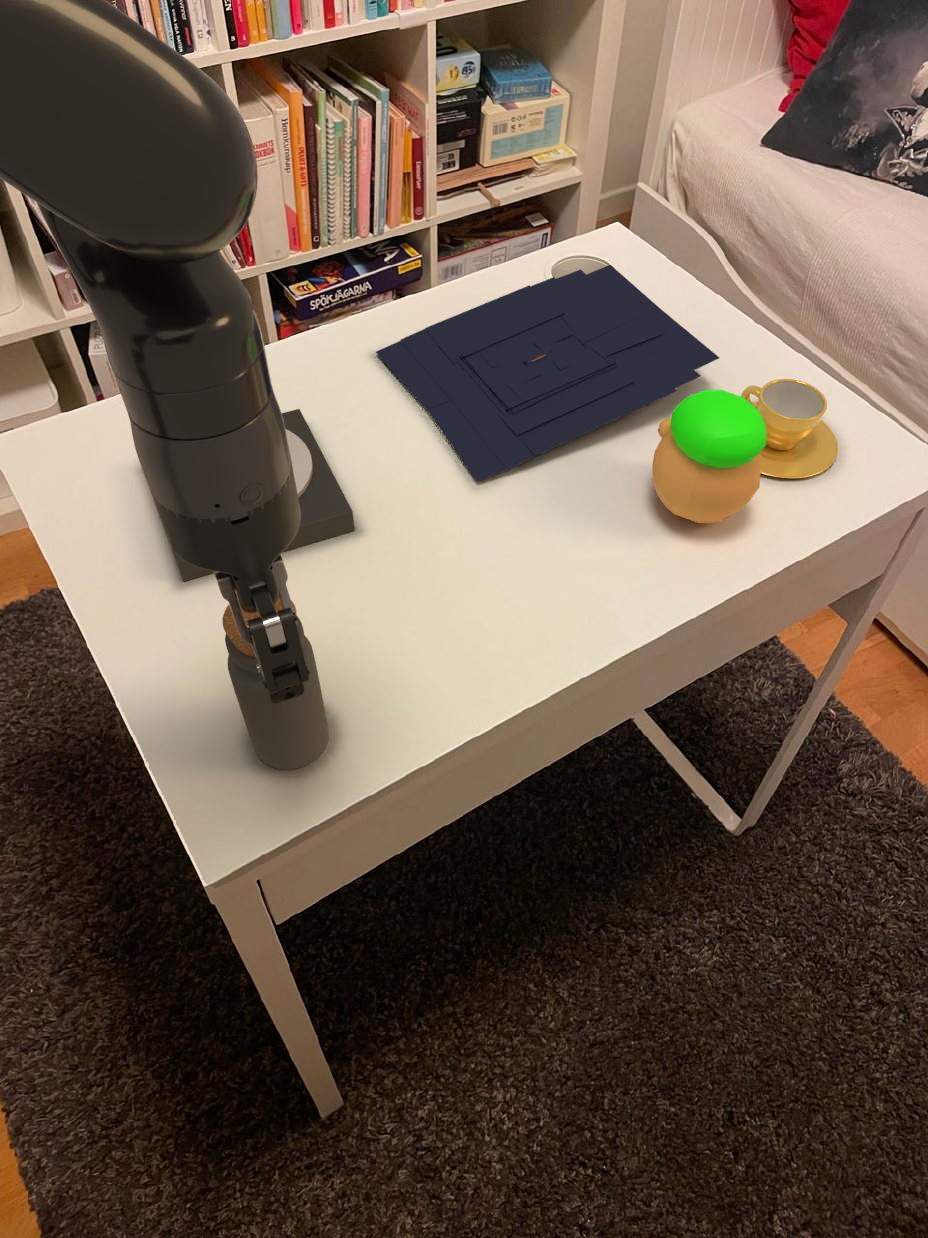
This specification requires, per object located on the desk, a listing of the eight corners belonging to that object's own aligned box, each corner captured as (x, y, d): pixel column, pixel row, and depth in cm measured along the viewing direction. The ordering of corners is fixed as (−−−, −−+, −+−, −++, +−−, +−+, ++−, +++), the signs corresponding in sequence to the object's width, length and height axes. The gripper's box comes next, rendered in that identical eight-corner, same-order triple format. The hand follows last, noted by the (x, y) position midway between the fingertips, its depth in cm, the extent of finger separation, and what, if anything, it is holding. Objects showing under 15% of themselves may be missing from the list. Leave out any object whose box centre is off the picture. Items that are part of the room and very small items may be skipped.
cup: (857, 438, 92) (876, 395, 88) (801, 498, 86) (819, 455, 82) (754, 389, 97) (768, 346, 93) (695, 443, 91) (707, 400, 87)
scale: (183, 582, 79) (174, 558, 76) (146, 469, 88) (137, 444, 85) (355, 530, 83) (352, 506, 80) (302, 427, 92) (298, 403, 89)
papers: (727, 388, 95) (732, 360, 92) (481, 502, 89) (478, 476, 86) (600, 277, 108) (601, 249, 105) (378, 370, 102) (372, 343, 99)
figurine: (764, 531, 83) (804, 430, 74) (670, 552, 82) (699, 451, 72) (709, 454, 90) (739, 352, 81) (621, 472, 88) (641, 370, 79)
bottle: (237, 738, 69) (194, 617, 57) (295, 692, 71) (266, 567, 60) (286, 785, 66) (252, 668, 55) (344, 736, 69) (324, 614, 57)
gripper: (121, 403, 50) (188, 589, 63) (178, 579, 42) (242, 752, 55) (251, 371, 52) (291, 558, 65) (329, 533, 44) (357, 710, 57)
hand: (268, 647), depth 60 cm, fingers open, 8 cm apart
